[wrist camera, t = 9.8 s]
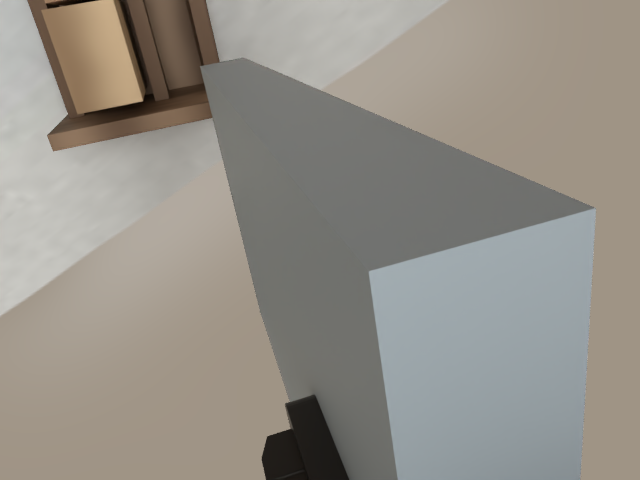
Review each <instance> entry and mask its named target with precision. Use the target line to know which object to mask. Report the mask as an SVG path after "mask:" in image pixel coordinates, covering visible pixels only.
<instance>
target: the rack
mask: <svg viewBox="0 0 640 480" xmlns="http://www.w3.org/2000/svg"><path fill="white" fill-rule="evenodd" d="M119 1H121V2H124V5H125V8H126V12H127V15H128V18H129V22H130V25H131V29H132V32H133V36H134V39H135V43H136V46H137V50H138V53H139V57H140V60H141V64H142V67H143V71H144V74H145V77H146V81H147V87H146V91H145V95H144V99H143V101H142V102H137V103H132V104H127V105H122V106H117V107H112V108H107V109H102V110H97V111H92V112H87V113H82V114H77V111H76V108H75V105H74V102H73V100H72V97H71V94H70V91H69V88H68V85H67V82H66V80H65V77H64V74H63V71H62V68H61V65H60V63H59V60H58V57H57V54H56V51H55V48H54V45H53V43H52V40H51V37H50V34H49V31H48V28H47V25H46V23H45V20H44V17H43V14H42V11H41V10H44V9H50V8H56V7H62V6H63V5H55V4H47V3H45V1H44V0H28V3H29V6H30V9H31V12H32V14H33V17H34V20H35V23H36V26H37V28H38V31H39V34H40V37H41V39H42V42H43V45H44V48H45V51H46V53H47V56H48V59H49V62H50V65H51V67H52V70H53V73H54V76H55V79H56V81H57V84H58V87H59V90H60V93H61V95H62V98H63V101H64V104H65V107H66V109H67V112H68V115H67V116H66V117H65V118H64V119H63V120H62V121H61V122H60V123H59V124H58V125H57V126H56V127H55V128H54V129H53V130H52V131H51V132H50V133H49V134H48V135H47V136H48V139H49V142H50V144H51V147H52V149H53V151H57V150H62V149H67V148H72V147H76V146H81V145H86V144H90V143H95V142H100V141H105V140H109V139H114V138H119V137H124V136H128V135H133V134H138V133H142V132H147V131H152V130H157V129H161V128H166V127H171V126H176V125H180V124H185V123H190V122H194V121H199V120H204V119H209V118H213V117H212V113H211V109H210V105H209V101H208V97H207V93H206V89H205V85H204V81H203V77H202V72H201V68H200V66H204V65H209V64H214V63H219V57H218V53H217V49H216V44H215V40H214V35H213V31H212V27H211V22H210V18H209V13H208V9H207V5H206V0H119Z"/></svg>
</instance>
